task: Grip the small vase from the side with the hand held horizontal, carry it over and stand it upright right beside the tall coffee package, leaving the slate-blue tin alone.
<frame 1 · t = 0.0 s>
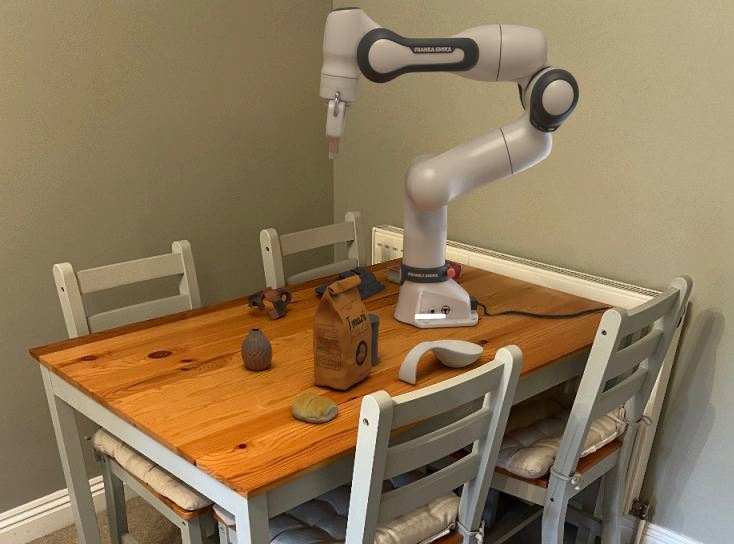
hand: (333, 156, 178), 39 cm above the table, tool pointing down, fingers open, 8 cm apart
brown grey irregular piece: (271, 314, 199), on the table
folded navy cloth: (348, 292, 218), on the table
vase: (257, 368, 168), on the table
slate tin: (362, 361, 172), on the table
bread roll: (315, 415, 147), on the table
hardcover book: (424, 279, 231), on the table
coffee package: (343, 382, 162), on the table
spoon rest: (440, 370, 168), on the table
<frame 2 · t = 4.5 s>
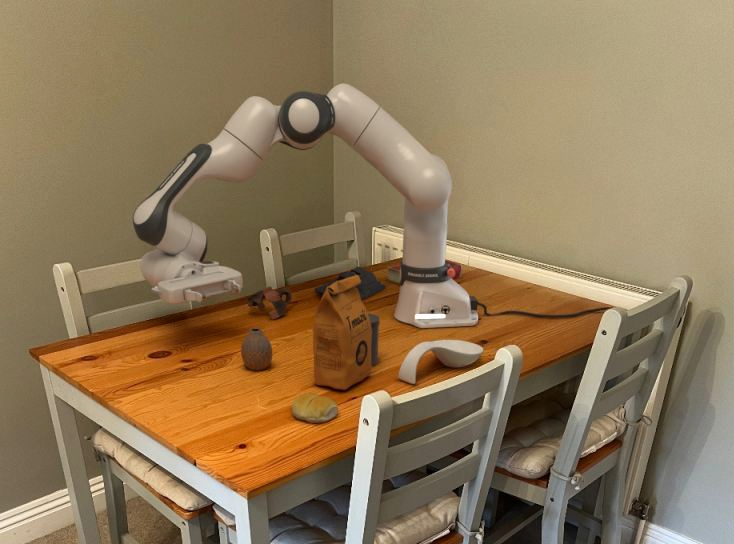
hand: (220, 293, 167), 14 cm above the table, tool horizontal, fingers open, 8 cm apart
nothing on the table moved.
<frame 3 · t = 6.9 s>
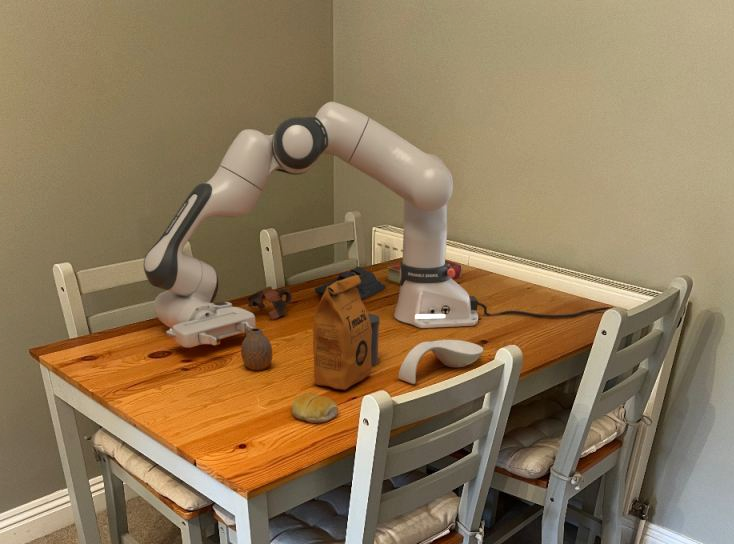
hand: (234, 336, 170), 5 cm above the table, tool horizontal, fingers open, 8 cm apart
nothing on the table moved.
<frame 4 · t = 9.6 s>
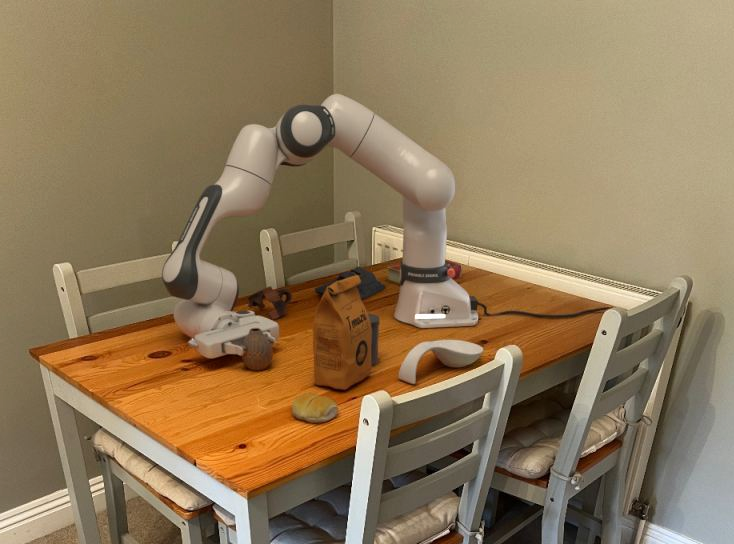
hand: (259, 347, 164), 5 cm above the table, tool horizontal, fingers closed on vase, 7 cm apart
vase: (257, 368, 168), on the table, touching gripper
everything else where it was.
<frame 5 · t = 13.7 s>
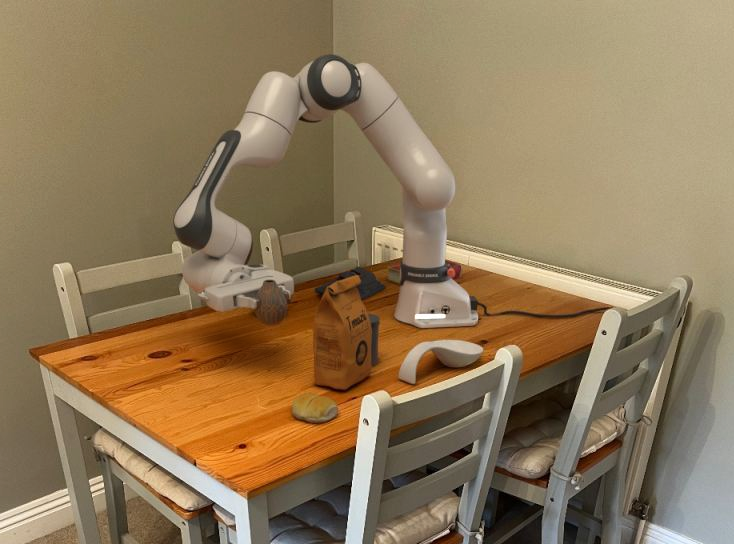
hand: (273, 300, 154), 17 cm above the table, tool horizontal, fingers closed on vase, 7 cm apart
vase: (271, 323, 158), point 12 cm above the table, touching gripper
everything else where it was.
when the fingers open (5 cm above the table, at t = 18.1 s): vase stays where it is, on the table.
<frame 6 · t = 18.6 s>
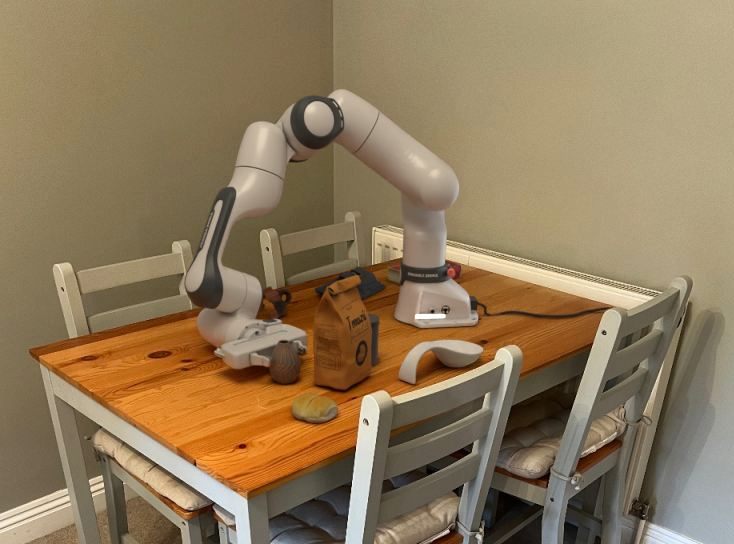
hand: (288, 357, 158), 6 cm above the table, tool horizontal, fingers open, 8 cm apart
vase: (285, 381, 162), on the table
everything else where it was.
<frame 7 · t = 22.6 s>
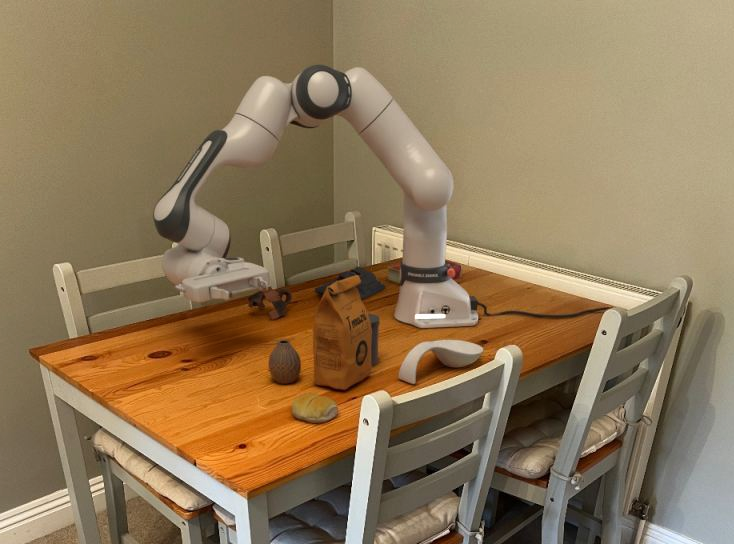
hand: (247, 291, 160), 17 cm above the table, tool horizontal, fingers open, 8 cm apart
nothing on the table moved.
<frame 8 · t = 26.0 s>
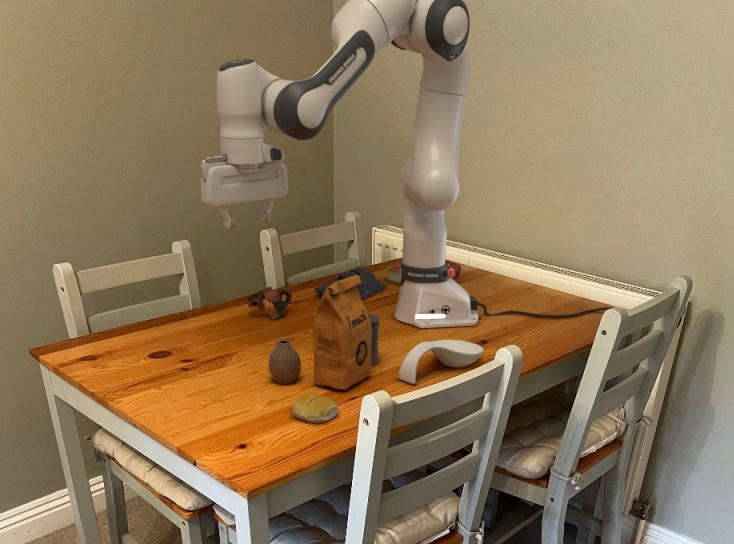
hand: (247, 224, 158), 29 cm above the table, tool pointing down, fingers open, 8 cm apart
nothing on the table moved.
at the end: vase 12.6 cm from the coffee package (horizontally); vase tilted 0°; coffee package moved 0.2 cm from its start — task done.
